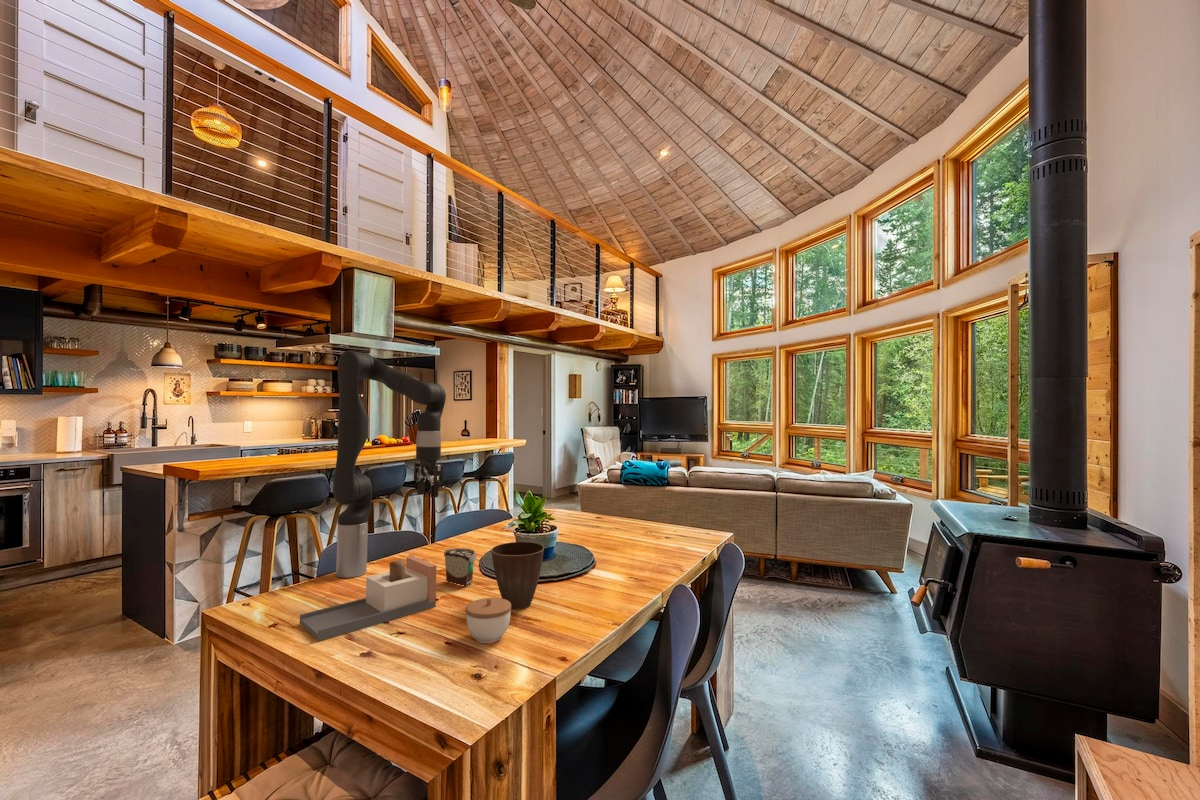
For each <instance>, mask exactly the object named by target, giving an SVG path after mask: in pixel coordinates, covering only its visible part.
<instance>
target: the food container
mask: <svg viewBox="0 0 1200 800" xmlns="http://www.w3.org/2000/svg"><path fill="white" fill-rule="evenodd" d="M475 551H476V550H474V549H471V548H463V547H461V548H450V549H449V548H448V549H445V550H444V553H443V557H444V560H445V563H444V565H445V582H446V581H448V582H452V583H456V584H460V585H464V586H468V585H470V584H471V583H472V584H473V577H474V576H473V575H474V568H475V567H474V566H475V561H477V554H476V552H475ZM448 582H447V583H448ZM452 583H451V584H452ZM456 584H455V585H456ZM472 584H471V585H472ZM471 585H470V586H471Z"/></svg>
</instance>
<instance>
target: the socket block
mask: <svg viewBox="0 0 1200 800" xmlns="http://www.w3.org/2000/svg"><path fill="white" fill-rule="evenodd" d="M389 577H390V571H387V572H382V573H378V574H373V575H368V576H366V577H365V581H366V582H365V598H366V603H367V604H369V605H371V606H372V607H374V608H375V609H377V610H378V611H380V612H384V611H387V610H391V609H394V608H398V607H402V606H405V605H409V604H412V603H416V602H419V601H423V600H427V595H428V577H427V576H425V575H423V574H421V573H418V572H416V571H414V570H412V569H410V568H406V567H405V579H402V580H398V581H394V582H390V581H389Z"/></svg>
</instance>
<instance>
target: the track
mask: <svg viewBox="0 0 1200 800" xmlns="http://www.w3.org/2000/svg"><path fill="white" fill-rule="evenodd" d="M405 568H410V569H412V570H414V571H416V572H418V573H421V574H423V575H425V576H427V577H428V595H427V600H423V601H419V602H416V603H412V604H409V605H405V606H402V607H398V608H394V609H391V610H387V611H384V612H380V611H378V610H377V609H375V608H374V607H372V606H371V605H369V604H367V603H366V597H364V598H361V599H355V600H351V601H348V602H344V603H340V604H336V605H333V606H329V607H324V608H321V609H316V610H312V611H309V612H308V611H307V612H304V613H300V614H299V625H300V624H301V625H302V626H303V627H304V628H305V629H306V630H307V631H308V632H307V631H306V630H305V629H304V628H303V627H302V626H301V625H300V626H301V627H302V628H303V629H304V630H305V631H306V632H307V633H308V634H310V633H311V634H312V635H313V636H314V637H315V638H316V639H317V640H318V642H322V641H325V640H324V639H326V640H328V638H329V639H332V638H335V636H336V637H338V635H339V636H342V635H341V634H343V635H346V634H348V633H351V632H356V631H359V630H362V629H363V630H364V629H367V628H369V627H373V626H375V625H380V624H383V623H386V622H389V621H392V620H396V619H399V618H402V617H406V616H409V615H412V614H416V613H421V612H422V611H426V610H431V609H433V607H434V608H436V606H437V605H436V603H437V602H436V599H437V565H436V564H434V563H431V562H430V561H429V562H428V561H426V560H424V559H421V558H419V557H416V556H415V555H409V556H406V559H405ZM345 633H346V634H345ZM311 634H310V635H311ZM312 635H311V636H312ZM313 636H312V637H313ZM314 637H313V638H314ZM315 638H314V639H315ZM316 639H315V640H316ZM317 640H316V641H317ZM321 640H322V641H321Z"/></svg>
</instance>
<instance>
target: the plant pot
mask: <svg viewBox="0 0 1200 800" xmlns="http://www.w3.org/2000/svg"><path fill="white" fill-rule="evenodd" d="M544 552H545V546H544V545H542V544H540V543H537V542H530V541H514V542H513V541H512V542H506V543H501V544H498V545H495V546H493V547H492V548H491V559H492V564H493V570H494V571H493V572H494V574H495V579H496V583H497V584H496V585H497V588H498V590H499V591H498V592H499V594H500V596H501V598H502V599H505V600H508V601H509V602H510V603H511V610H522V608H523V609H526V608H528V607H530V606H531V605H532V602H533V600H534V599H533V598H534V596H535V593H536V591H537V588H538V586H537V585H538V583H539V580H540V576H541V571H542V565H543V558H544Z"/></svg>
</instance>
